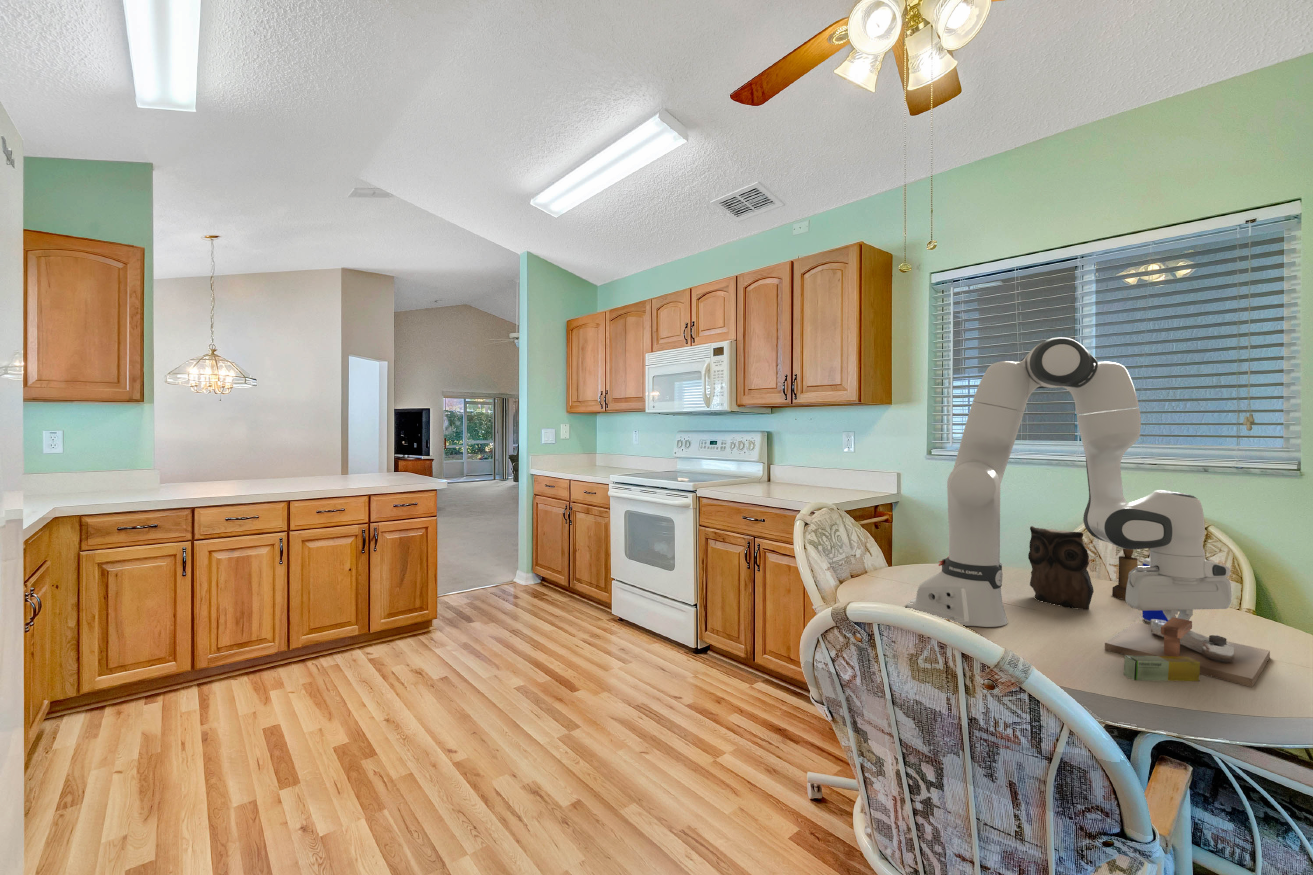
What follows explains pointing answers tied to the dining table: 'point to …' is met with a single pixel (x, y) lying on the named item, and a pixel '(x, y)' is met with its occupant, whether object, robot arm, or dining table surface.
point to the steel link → (1199, 643)
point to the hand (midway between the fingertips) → (1177, 628)
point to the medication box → (1161, 668)
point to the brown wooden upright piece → (1124, 573)
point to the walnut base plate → (1190, 650)
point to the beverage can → (1152, 613)
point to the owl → (1060, 568)
